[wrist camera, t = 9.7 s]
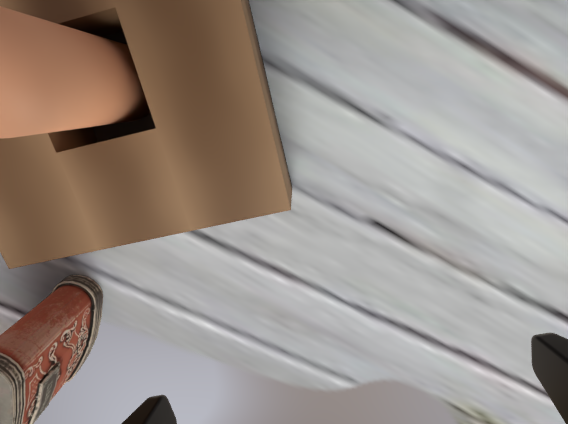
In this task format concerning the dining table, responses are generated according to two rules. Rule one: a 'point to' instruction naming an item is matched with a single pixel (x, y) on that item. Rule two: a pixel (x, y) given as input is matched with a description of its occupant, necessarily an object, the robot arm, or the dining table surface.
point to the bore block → (150, 136)
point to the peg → (63, 78)
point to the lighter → (47, 348)
